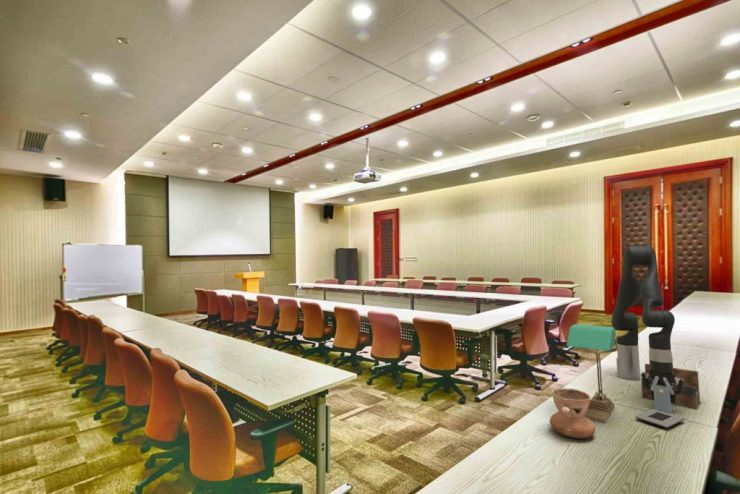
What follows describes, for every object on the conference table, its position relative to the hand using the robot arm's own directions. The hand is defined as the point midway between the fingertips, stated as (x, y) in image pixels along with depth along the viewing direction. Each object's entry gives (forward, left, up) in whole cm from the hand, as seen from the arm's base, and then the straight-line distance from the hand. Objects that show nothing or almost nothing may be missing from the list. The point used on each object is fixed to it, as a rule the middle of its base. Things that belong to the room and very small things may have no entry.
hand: (663, 401), depth 148 cm
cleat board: (0, +14, -3) cm, 14 cm away
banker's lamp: (-18, -21, -4) cm, 28 cm away
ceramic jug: (-19, -45, -4) cm, 49 cm away
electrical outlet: (+1, -14, -4) cm, 15 cm away
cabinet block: (0, 0, -3) cm, 3 cm away
